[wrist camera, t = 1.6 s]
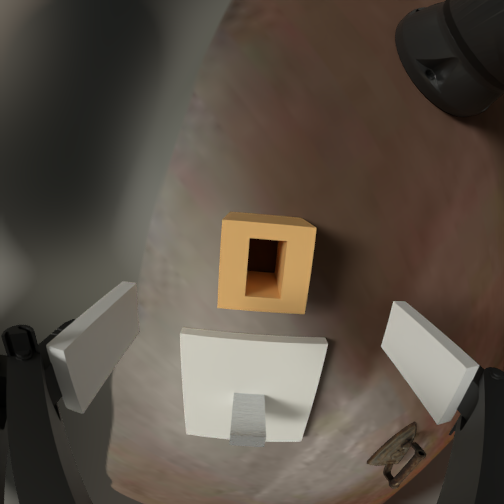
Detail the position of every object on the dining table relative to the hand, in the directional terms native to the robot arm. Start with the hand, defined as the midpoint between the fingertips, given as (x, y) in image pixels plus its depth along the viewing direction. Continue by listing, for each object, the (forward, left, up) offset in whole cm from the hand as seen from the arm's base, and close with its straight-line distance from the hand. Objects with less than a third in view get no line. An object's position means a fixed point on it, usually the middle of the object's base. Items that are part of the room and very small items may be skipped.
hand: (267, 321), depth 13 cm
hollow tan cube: (0, 0, -16) cm, 16 cm away
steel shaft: (0, +18, -14) cm, 23 cm away
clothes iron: (-27, +32, -16) cm, 45 cm away
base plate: (0, +18, -16) cm, 24 cm away
